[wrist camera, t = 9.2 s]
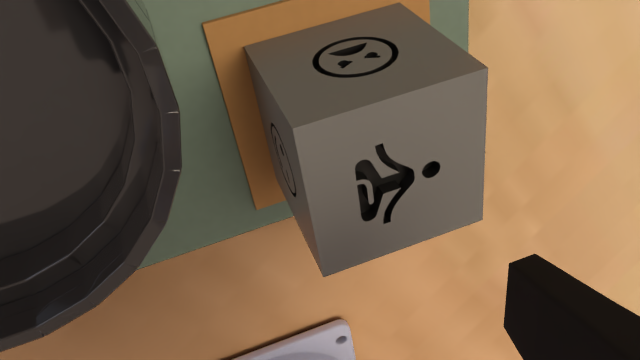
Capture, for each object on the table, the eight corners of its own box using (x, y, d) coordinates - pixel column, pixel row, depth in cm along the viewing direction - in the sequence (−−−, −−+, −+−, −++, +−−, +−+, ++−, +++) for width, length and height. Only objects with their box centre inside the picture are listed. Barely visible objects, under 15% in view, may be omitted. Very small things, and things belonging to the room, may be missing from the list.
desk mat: (465, 153, 23) (470, 159, 23) (-228, 390, 19) (-233, 401, 18) (467, -480, 13) (477, -487, 12) (-1091, -266, 8) (-1134, -267, 8)
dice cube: (243, 46, 17) (292, 128, 13) (399, 2, 18) (488, 67, 14) (276, 178, 20) (323, 277, 16) (407, 136, 21) (482, 219, 17)
